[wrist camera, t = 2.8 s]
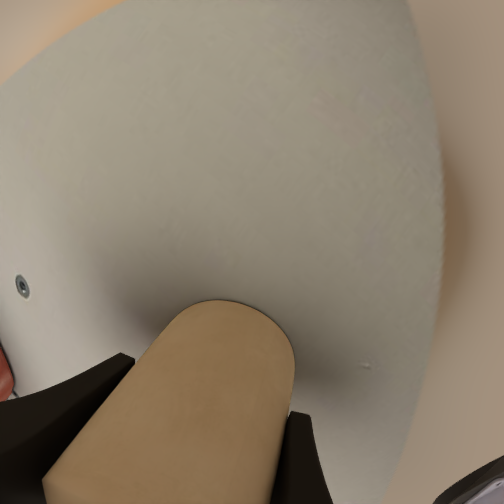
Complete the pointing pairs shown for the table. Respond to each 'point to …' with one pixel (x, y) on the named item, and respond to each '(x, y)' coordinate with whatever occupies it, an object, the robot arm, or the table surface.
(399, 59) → the table surface
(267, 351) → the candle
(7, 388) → the flower pot
